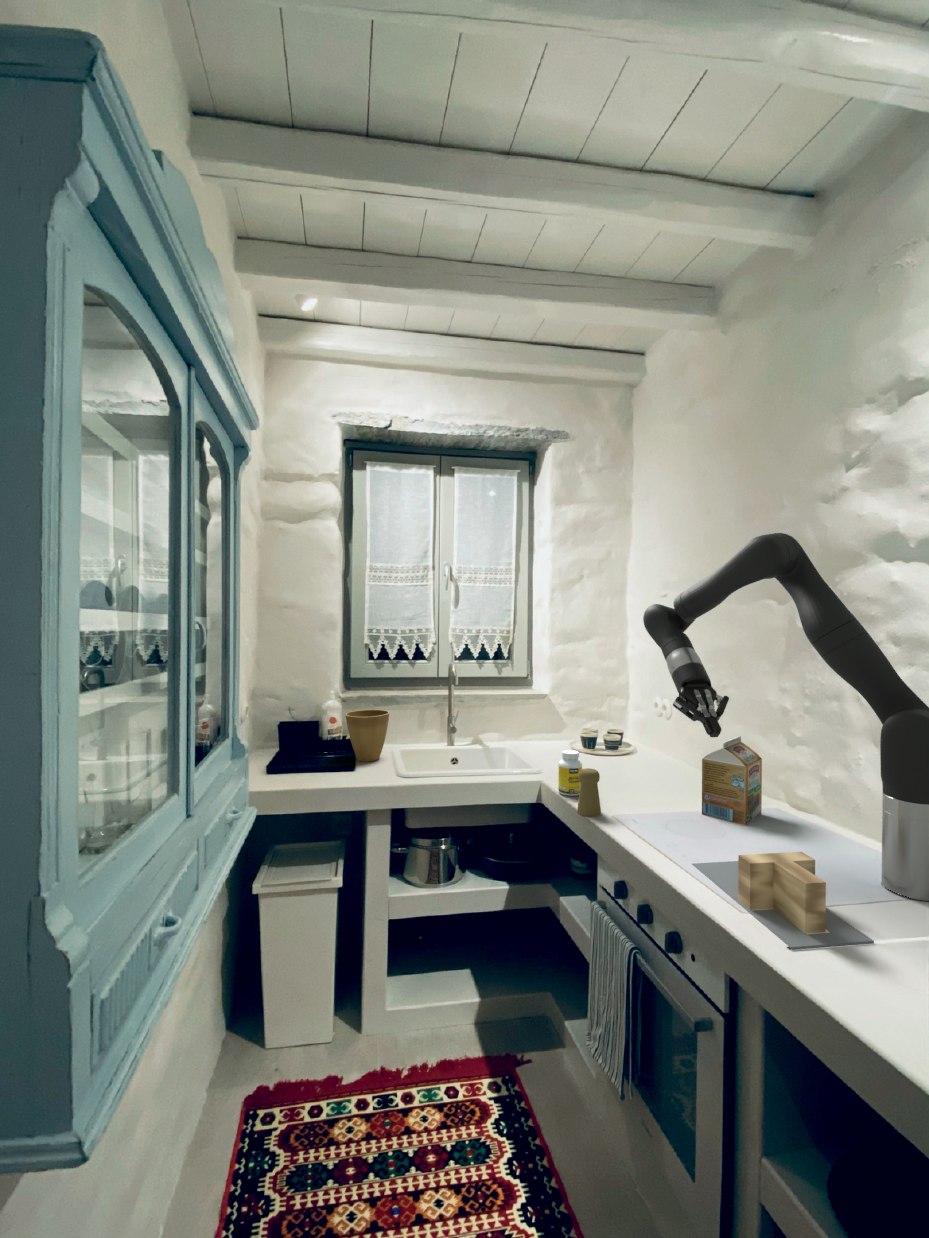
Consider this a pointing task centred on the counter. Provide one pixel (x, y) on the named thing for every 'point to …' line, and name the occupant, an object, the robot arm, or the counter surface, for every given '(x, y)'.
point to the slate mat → (835, 926)
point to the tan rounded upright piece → (589, 793)
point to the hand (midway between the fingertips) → (715, 735)
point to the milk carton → (732, 783)
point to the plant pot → (367, 732)
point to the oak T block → (784, 888)
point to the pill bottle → (569, 773)
